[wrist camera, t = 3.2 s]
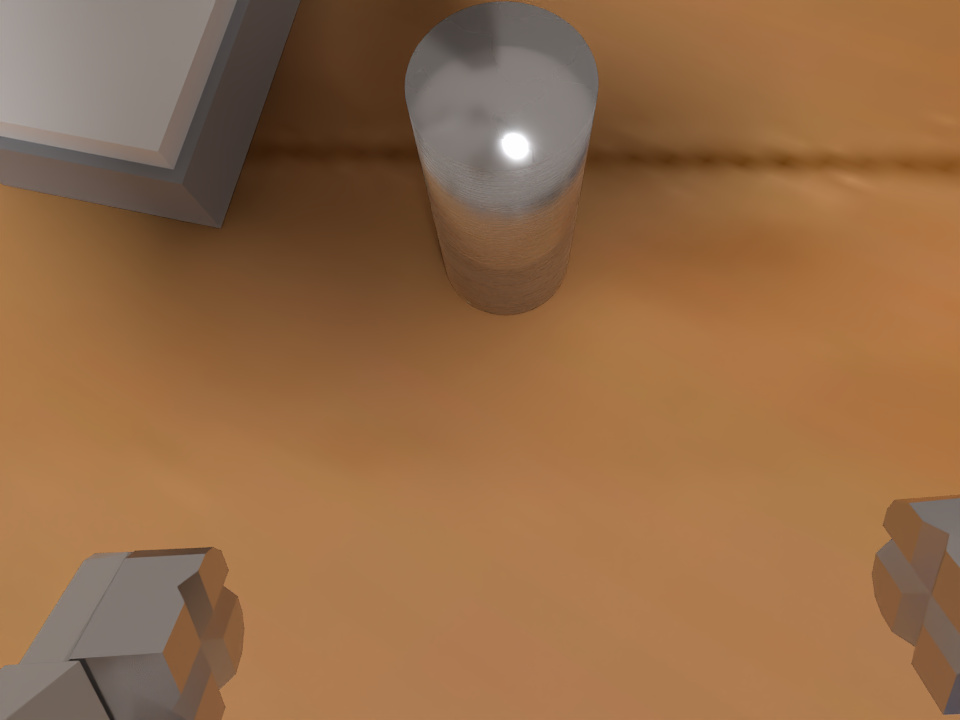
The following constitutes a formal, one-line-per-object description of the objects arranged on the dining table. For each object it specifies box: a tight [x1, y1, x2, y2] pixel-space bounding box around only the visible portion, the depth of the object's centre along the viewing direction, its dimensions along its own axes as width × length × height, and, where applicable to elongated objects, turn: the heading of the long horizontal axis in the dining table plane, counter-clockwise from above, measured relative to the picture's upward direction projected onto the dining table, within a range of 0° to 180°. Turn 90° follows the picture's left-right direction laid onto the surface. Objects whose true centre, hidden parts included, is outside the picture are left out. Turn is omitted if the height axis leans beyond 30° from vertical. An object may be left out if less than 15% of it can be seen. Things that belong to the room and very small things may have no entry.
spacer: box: [405, 2, 598, 315], centre depth 20 cm, size 4×4×9 cm
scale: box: [0, 0, 300, 228], centre depth 24 cm, size 9×10×4 cm
